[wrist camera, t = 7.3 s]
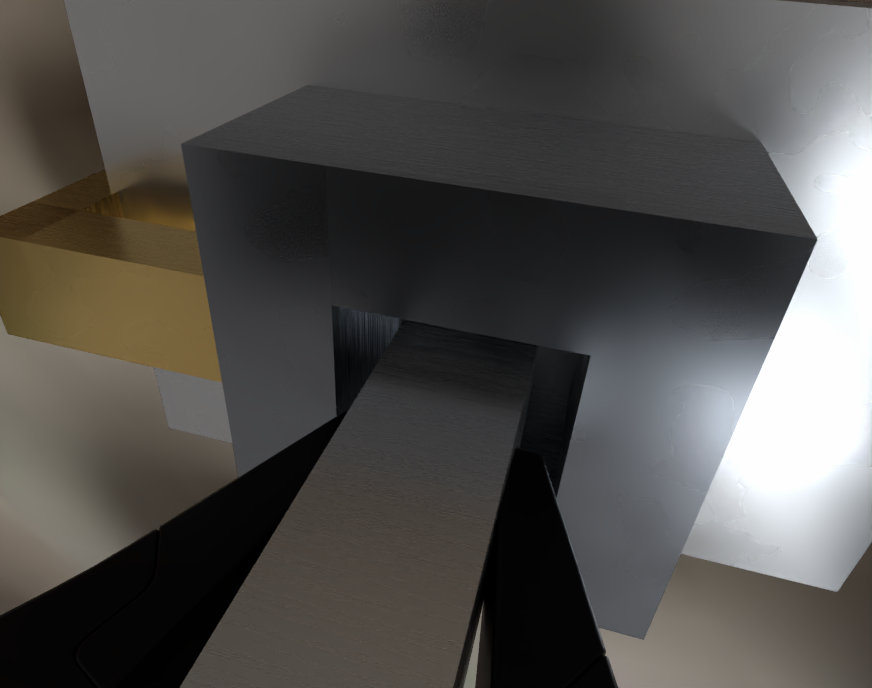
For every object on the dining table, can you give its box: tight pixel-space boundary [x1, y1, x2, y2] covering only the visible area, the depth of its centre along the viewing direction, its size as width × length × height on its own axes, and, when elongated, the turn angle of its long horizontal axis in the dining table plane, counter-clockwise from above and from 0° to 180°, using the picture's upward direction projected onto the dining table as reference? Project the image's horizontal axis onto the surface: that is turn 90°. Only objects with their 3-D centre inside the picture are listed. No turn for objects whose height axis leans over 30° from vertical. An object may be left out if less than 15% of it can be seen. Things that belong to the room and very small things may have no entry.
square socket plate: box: [0, 0, 872, 640], centre depth 12 cm, size 19×12×5 cm, turn 87°
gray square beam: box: [180, 320, 539, 688], centre depth 8 cm, size 2×2×8 cm
